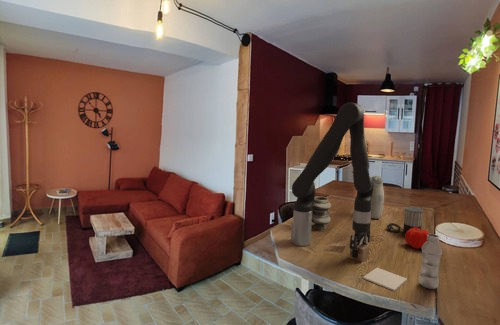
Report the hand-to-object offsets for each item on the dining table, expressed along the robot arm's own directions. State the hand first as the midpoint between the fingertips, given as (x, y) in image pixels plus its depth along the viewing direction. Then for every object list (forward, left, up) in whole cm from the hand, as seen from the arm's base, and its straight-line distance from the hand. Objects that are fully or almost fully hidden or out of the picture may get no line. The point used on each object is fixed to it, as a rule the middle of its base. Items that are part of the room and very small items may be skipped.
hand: (359, 254), depth 135 cm
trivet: (+16, -10, -2) cm, 19 cm away
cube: (0, 0, -2) cm, 2 cm away
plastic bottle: (+29, -3, -2) cm, 29 cm away
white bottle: (-23, +64, -2) cm, 68 cm away
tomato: (+13, +35, -2) cm, 37 cm away
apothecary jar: (-35, +20, -2) cm, 40 cm away
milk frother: (+1, +50, -2) cm, 50 cm away
